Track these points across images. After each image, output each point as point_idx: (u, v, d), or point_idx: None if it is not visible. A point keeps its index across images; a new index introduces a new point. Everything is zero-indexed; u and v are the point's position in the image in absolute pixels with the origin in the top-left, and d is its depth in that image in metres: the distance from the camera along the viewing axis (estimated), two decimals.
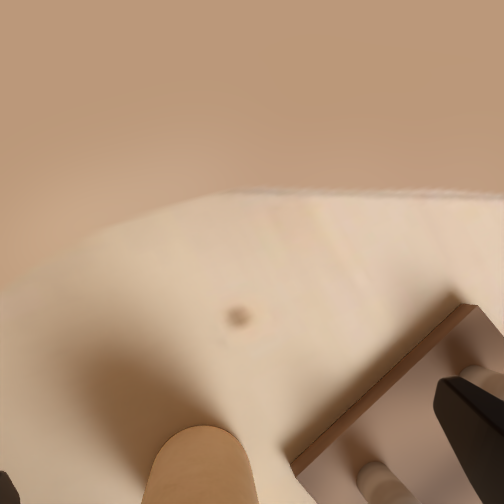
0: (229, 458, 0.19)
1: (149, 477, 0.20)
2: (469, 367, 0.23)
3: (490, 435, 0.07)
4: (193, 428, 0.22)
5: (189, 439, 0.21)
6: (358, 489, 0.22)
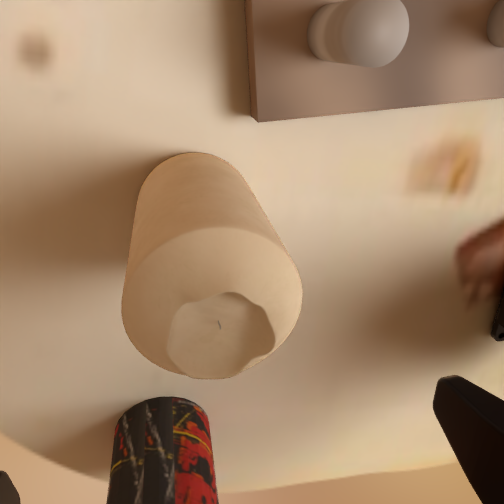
0: (169, 181, 0.15)
1: None
2: None
3: (490, 435, 0.07)
4: (140, 189, 0.18)
5: (137, 203, 0.17)
6: (323, 61, 0.16)
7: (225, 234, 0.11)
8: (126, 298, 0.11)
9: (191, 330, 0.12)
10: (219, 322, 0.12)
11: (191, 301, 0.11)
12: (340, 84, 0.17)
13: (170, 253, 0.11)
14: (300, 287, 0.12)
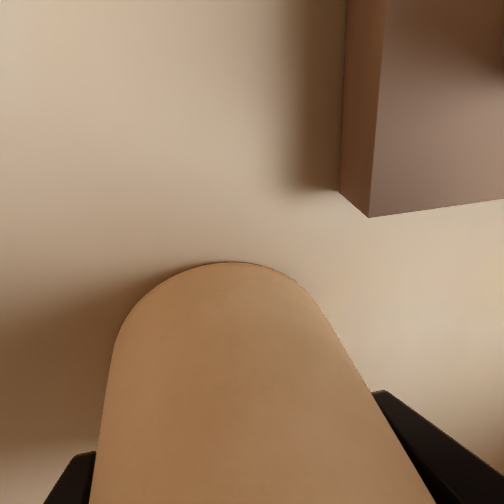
0: (178, 393, 0.06)
1: None
2: None
3: None
4: (117, 337, 0.09)
5: (108, 390, 0.08)
6: None
7: None
8: None
9: None
10: None
11: None
12: None
13: None
14: None
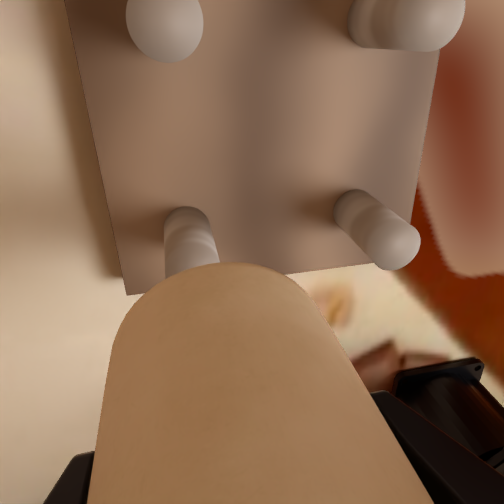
0: (176, 393, 0.06)
1: None
2: None
3: (406, 455, 0.07)
4: (116, 337, 0.09)
5: (106, 390, 0.08)
6: None
7: None
8: None
9: None
10: None
11: None
12: None
13: None
14: None
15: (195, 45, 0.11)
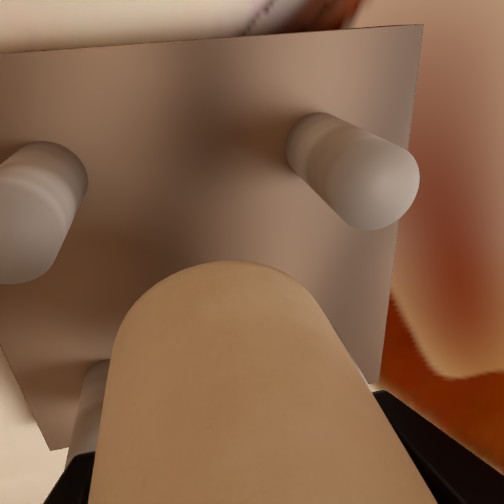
0: (177, 391, 0.06)
1: None
2: None
3: None
4: (117, 336, 0.09)
5: (107, 389, 0.08)
6: None
7: None
8: None
9: None
10: None
11: None
12: None
13: None
14: None
15: (51, 260, 0.08)
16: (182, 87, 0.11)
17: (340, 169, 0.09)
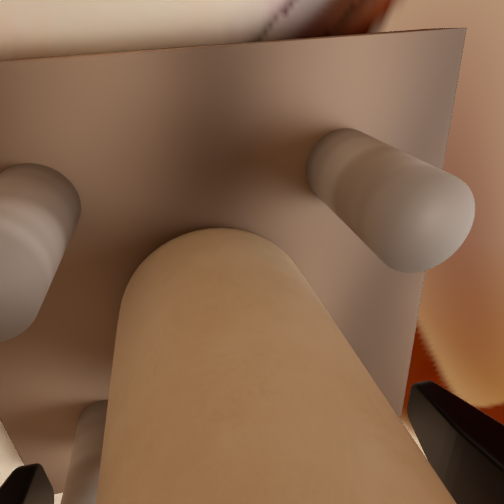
0: (179, 313, 0.08)
1: None
2: None
3: (459, 443, 0.07)
4: (125, 292, 0.11)
5: (119, 329, 0.10)
6: None
7: None
8: None
9: None
10: None
11: None
12: None
13: None
14: None
15: (32, 316, 0.07)
16: (189, 101, 0.09)
17: (381, 202, 0.07)
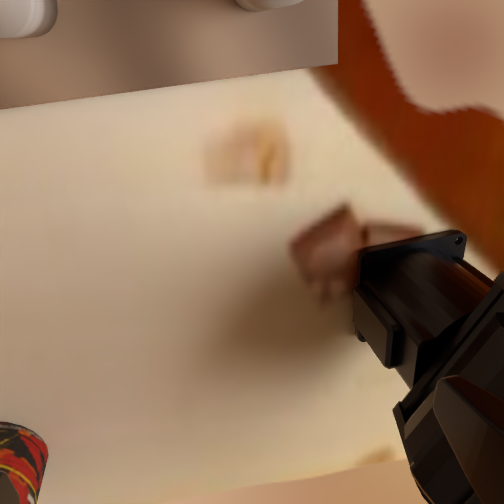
0: None
1: None
2: None
3: (490, 435, 0.07)
4: None
5: None
6: (24, 37, 0.14)
7: None
8: None
9: None
10: None
11: None
12: (58, 64, 0.14)
13: None
14: None
15: None
16: None
17: None
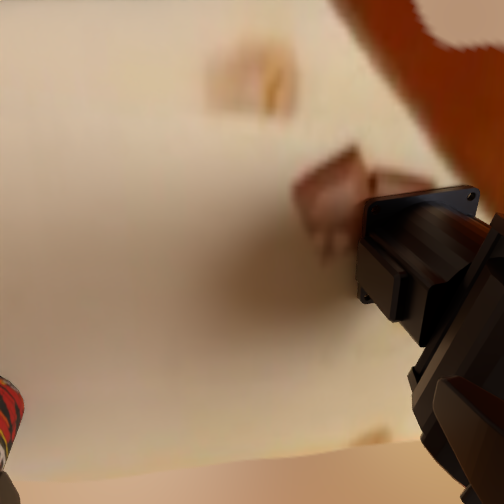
0: None
1: None
2: None
3: (490, 435, 0.07)
4: None
5: None
6: None
7: None
8: None
9: None
10: None
11: None
12: None
13: None
14: None
15: None
16: None
17: None
